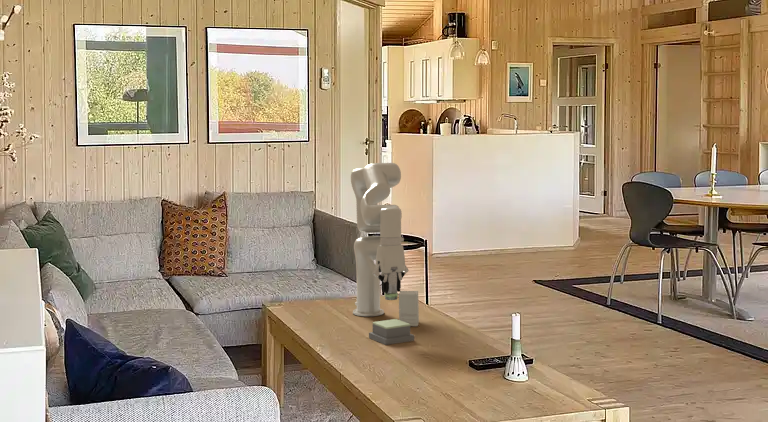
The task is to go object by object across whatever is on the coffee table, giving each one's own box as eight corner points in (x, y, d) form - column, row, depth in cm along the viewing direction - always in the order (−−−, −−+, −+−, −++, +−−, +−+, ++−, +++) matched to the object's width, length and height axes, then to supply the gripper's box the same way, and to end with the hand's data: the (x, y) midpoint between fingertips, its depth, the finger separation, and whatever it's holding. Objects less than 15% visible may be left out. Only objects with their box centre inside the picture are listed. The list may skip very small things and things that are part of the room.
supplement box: (419, 322, 381) (419, 290, 380) (417, 326, 374) (417, 294, 372) (400, 322, 382) (400, 290, 380) (398, 326, 374) (398, 294, 373)
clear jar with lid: (381, 298, 353) (381, 265, 352) (393, 297, 356) (393, 264, 355) (388, 300, 349) (388, 267, 348) (401, 299, 351) (400, 266, 350)
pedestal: (368, 338, 356) (368, 321, 356) (397, 333, 362) (396, 318, 362) (385, 344, 346) (385, 328, 345) (414, 340, 352) (414, 324, 351)
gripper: (405, 238, 358) (405, 287, 360) (365, 242, 349) (365, 292, 351) (416, 241, 351) (416, 291, 353) (375, 244, 343) (376, 295, 345)
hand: (391, 291), depth 352 cm, fingers closed on clear jar with lid, 4 cm apart
